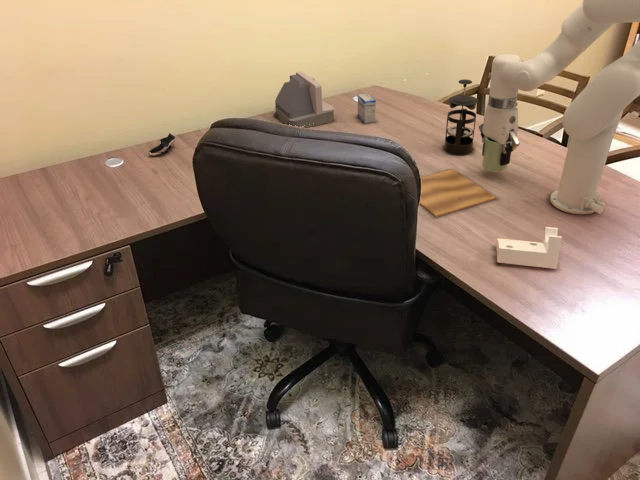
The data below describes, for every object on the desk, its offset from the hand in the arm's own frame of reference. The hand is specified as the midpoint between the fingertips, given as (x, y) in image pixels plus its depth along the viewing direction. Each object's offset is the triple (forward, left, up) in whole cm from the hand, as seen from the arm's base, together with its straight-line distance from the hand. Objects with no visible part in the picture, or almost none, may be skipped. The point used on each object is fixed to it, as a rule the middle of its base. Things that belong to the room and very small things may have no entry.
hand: (495, 159), depth 158 cm
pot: (0, 0, -2) cm, 2 cm away
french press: (+21, -3, -6) cm, 22 cm away
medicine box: (+59, +11, -6) cm, 60 cm away
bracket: (-36, +20, -6) cm, 42 cm away
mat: (-1, +18, -5) cm, 19 cm away
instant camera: (+73, +31, -6) cm, 79 cm away
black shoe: (+70, +86, -6) cm, 111 cm away
